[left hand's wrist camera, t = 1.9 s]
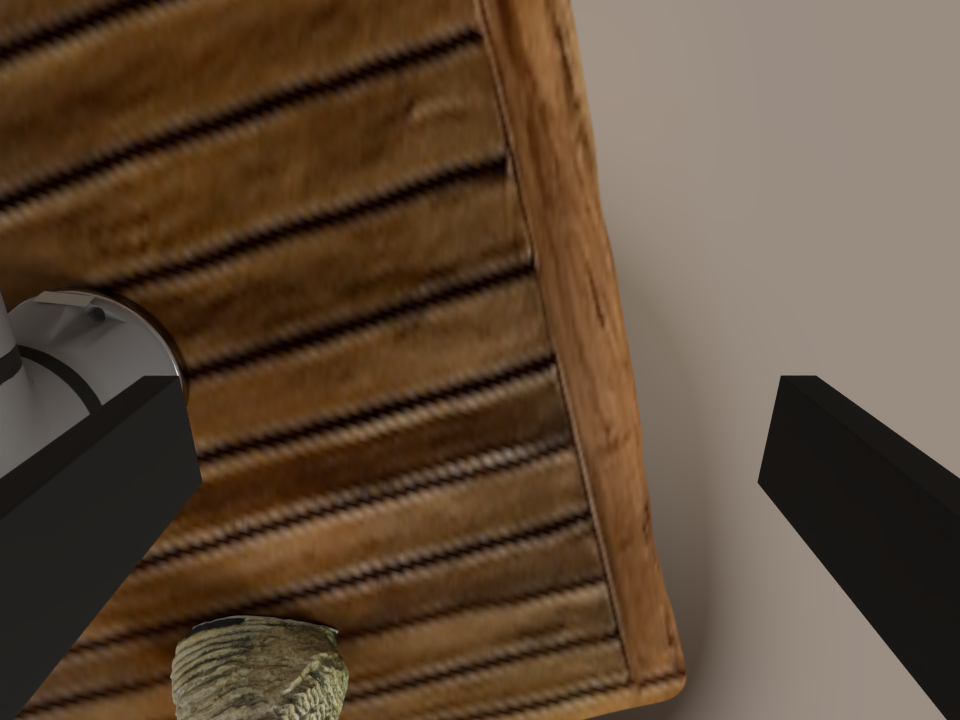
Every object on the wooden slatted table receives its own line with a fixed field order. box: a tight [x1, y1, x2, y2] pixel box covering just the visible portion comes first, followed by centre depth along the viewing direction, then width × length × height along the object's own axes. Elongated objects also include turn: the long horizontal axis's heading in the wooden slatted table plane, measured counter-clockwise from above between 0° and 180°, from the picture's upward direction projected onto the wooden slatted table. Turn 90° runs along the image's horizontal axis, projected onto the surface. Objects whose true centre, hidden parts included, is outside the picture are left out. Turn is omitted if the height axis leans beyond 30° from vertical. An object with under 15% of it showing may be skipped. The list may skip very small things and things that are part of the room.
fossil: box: [170, 616, 349, 720], centre depth 54 cm, size 9×18×15 cm, turn 101°
